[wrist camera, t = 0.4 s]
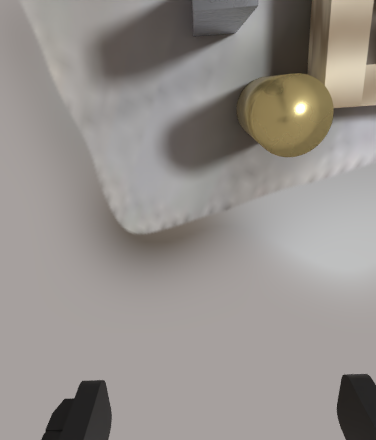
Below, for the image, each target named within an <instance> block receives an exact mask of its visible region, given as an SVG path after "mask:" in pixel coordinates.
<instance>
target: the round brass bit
mask: <svg viewBox="0 0 376 440" xmlns="http://www.w3.org/2000/svg"><path fill="white" fill-rule="evenodd" d="M333 111H334V108H333V101H332V98H331V95H330V93H329V91H328V89H327V88H326V87H325V85H324V84H323V83H322V82H321V81H319V80H318V79H316V78H315V77H312V76H310V75H307V74H301V73H295V74H285V75H276V76H266V77H261V78H258V79H256V80H254V81H252V82H251V83H249V84H248V85H247V86H246V87H245V88H244V90H243V91H242V92H241V94H240V96H239V99H238V102H237V118H238V121H239V123H240V125H241V126H242V128H243V129H244V130H245V131H246V132H247V133H248V134H249V135H250V136H251V137H253V138H254V139H255V140H256V141H257V142H258V143H259V144H260V145H261V146H263V147H264V148H265V149H266V150H267V151H269V152H270V153H272V154H275V155H278V156H282V157H295V156H299V155H302V154H305V153H307V152H309V151H311V150H312V149H314V148H315V147H316V146H317V145H319V144H320V142H321V141H322V140H323V139H324V138H325V136H326V135H327V133H328V131H329V129H330V126H331V124H332V120H333Z"/></svg>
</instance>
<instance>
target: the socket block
mask: <svg viewBox="0 0 376 440" xmlns="http://www.w3.org/2000/svg"><path fill="white" fill-rule="evenodd" d="M307 75H310V76H312V77H315V78H316V79H318V80H319V81H321V82H322V83H323V84H324V85H325V87H326V88H327V89H328V91H329V93H330V95H331V98H332V101H333V108H342V107H357V106H371V105H376V0H312V5H311V22H310V38H309V55H308V72H307Z"/></svg>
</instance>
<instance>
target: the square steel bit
mask: <svg viewBox="0 0 376 440" xmlns="http://www.w3.org/2000/svg"><path fill="white" fill-rule="evenodd" d="M257 6H258V0H192V18H193V36H206V35H218V34H231V33H236V32H237V31H238V30H239V28H240V27H241V26H242V25H243V23H244V22H245V21H246V20H247V19H248V17H249V16H250V15H251V14H252V12H253V11H254V10H255V9H256V8H257Z"/></svg>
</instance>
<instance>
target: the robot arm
mask: <svg viewBox="0 0 376 440" xmlns="http://www.w3.org/2000/svg"><path fill="white" fill-rule="evenodd" d="M337 415H338V420H339V424H340V426H341V429H342V431H343V434H344V436H345V439H346V440H376V385H375V383H374V382H373V380H372V379H371V377H370V376H369V375H367V374H349V375H343V376H342V379H341V385H340V391H339V397H338V403H337ZM111 419H112V414H111V407H110V402H109V397H108V393H107V387H106V383H105V381H104V380H97V381H82V382H81V383H80V385H79V388H78V391H77V393H76V396H75V398H74V399H64V400H63V401H62V403H61V404H60V405H59V406H58V407H57V409H56V410H55V411H54V412H53V413H52V416H51V418H50V421H49V423H48V425H47V428H46V432H45V434H44V435H43V437H42V440H108V438H109V434H110V428H111Z"/></svg>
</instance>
